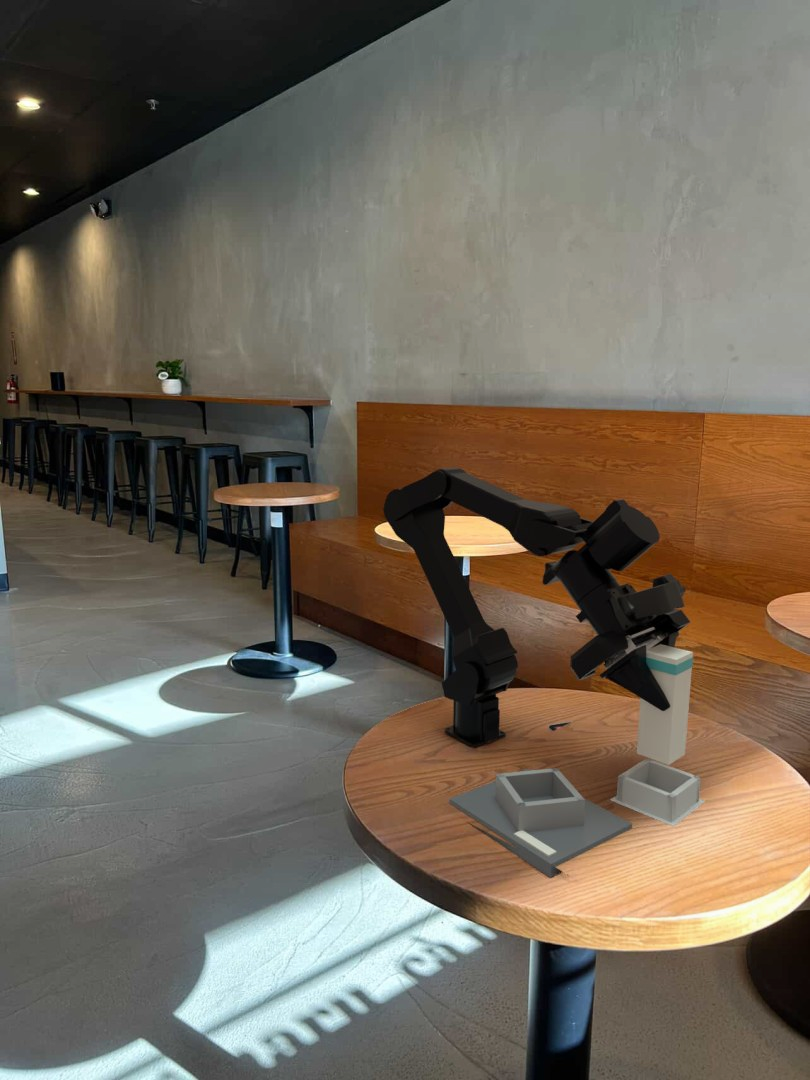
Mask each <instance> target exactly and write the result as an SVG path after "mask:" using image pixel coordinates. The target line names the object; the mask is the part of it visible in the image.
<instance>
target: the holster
mask: <svg viewBox="0 0 810 1080" xmlns="http://www.w3.org/2000/svg"><path fill="white" fill-rule="evenodd" d="M701 779H702V778H701V777H700V776H697V775H695V774H692V773H690V772H688V771H684V770H681V769H679V768H676V767H673V766H670V765H667V764H664V763H662V762H659V761H656V760H653V759H650V758H648V757H646V758H644V759H643V760H642V761H640V762H638V763H637V764H635V765H634V766H632V767H631V768H629V769H628V770H626V771H624V772H623V773H621V774H619V775H618V776H617V784H616V785H617V787H616V789H617V790H616V795H615V796H613V797H612V798H610V799H609V801H610V802H613V803H616V804H618V805H620V806H623V807H625V808H628V809H630V810H632V811H635V812H638V813H640V814H642V815H645V816H647V817H650V818H652V819H655V820H656V821H659V822H661V823H663V824H666V825H669V826H671V827H675V826H676V825H678V824H679V823H680V822H682V821H683V820H684V819H685V818H686V817H688V816H689V815H690V814H692V812H694V811H695V810H697V808H699V807H700V806H701V805H704V803H706V800H704V799H701V798H700V794H701V793H700V791H701Z"/></svg>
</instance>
